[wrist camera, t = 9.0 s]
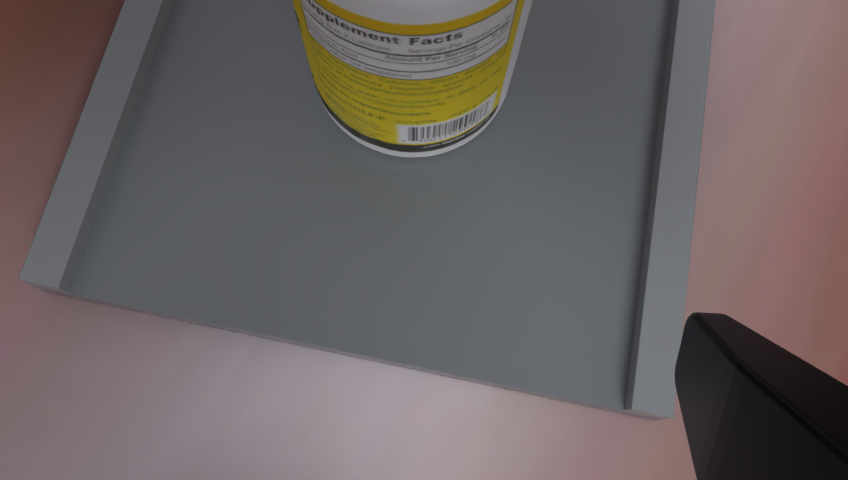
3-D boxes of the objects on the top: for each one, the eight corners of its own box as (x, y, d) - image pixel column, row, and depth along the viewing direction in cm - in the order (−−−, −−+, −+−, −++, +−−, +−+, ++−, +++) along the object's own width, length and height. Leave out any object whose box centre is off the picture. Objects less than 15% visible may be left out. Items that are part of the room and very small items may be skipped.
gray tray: (653, 420, 18) (673, 418, 17) (46, 292, 18) (17, 279, 17) (708, -88, 22) (727, -122, 21) (219, -181, 23) (208, -220, 22)
